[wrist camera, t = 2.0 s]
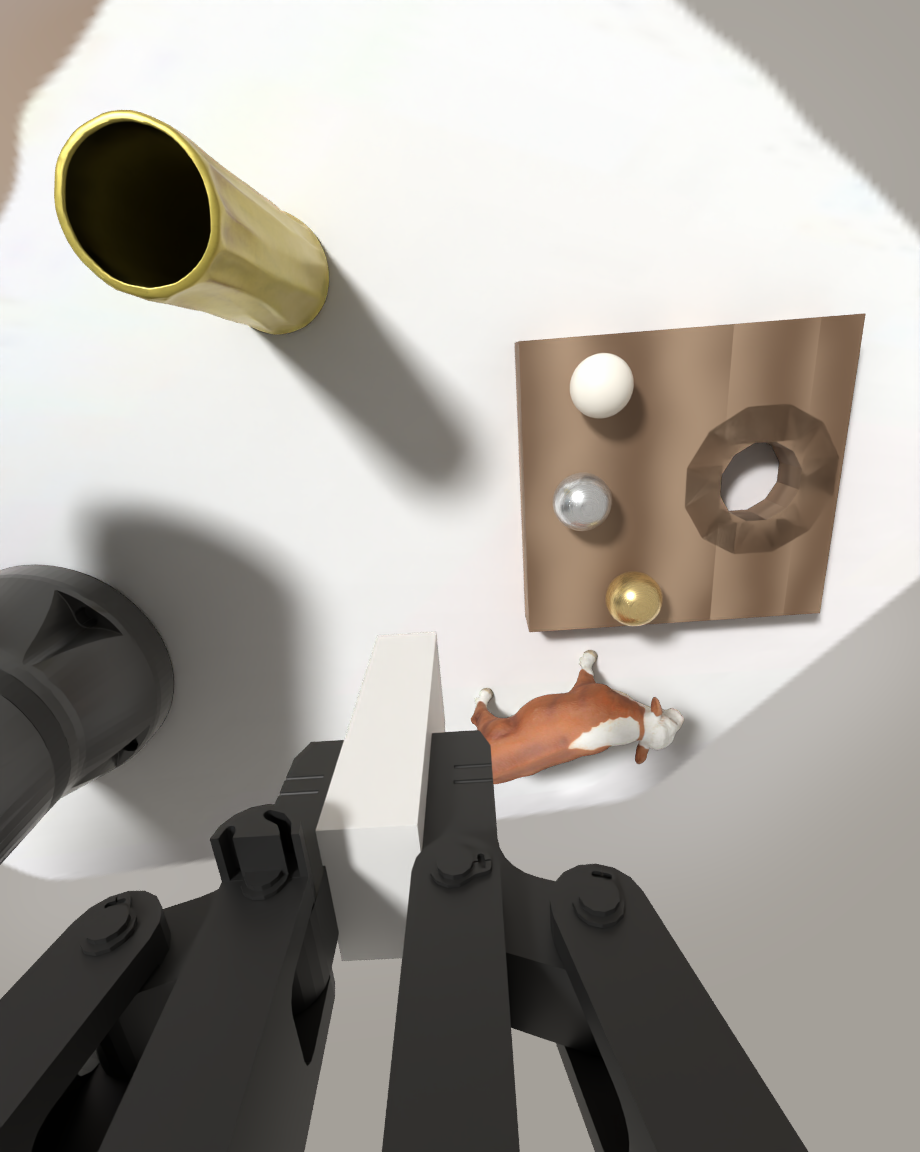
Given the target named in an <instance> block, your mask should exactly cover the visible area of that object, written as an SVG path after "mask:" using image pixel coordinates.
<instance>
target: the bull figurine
mask: <svg viewBox="0 0 920 1152" xmlns="http://www.w3.org/2000/svg"><path fill="white" fill-rule="evenodd" d="M596 659H597V654H596V652H595V651H593V650H588V651H586V652H584V655H583V657H580V659H579V660H580V663H579V665H580V666H581V667H582V670H581V671H580V672H579V676H578V679H577V682H576V684H575V685H574V687H573V688H572V690H571V691H570V692H568V693H561V694H550V695H544V696H540V697H537V698H535V699H533V700H531V701H529V702H528V703H527V704H525V705H524V706H523V707H522V708H521V709H520V710H519V711H518V712H517V713H516V714H515V715H512V716H511V717H508V718H498V717H495V716H493V715H492V714H491V713H490V712H489V711H488V710H487V704H488V702H489V701H490V699H491V698H492V696H493V692H492V691H491V689H489V688H485V689H482V690H481V691H480V693H479V697H478V698H475V704H476V706H475V711H474V714H473V716H472V718H471V722H472V723H473V724H475V725H476V727H477V729H478V730H480V732H481V733H482V734H483V736H484V737H485V738H486V740H487V741H488V742H489V744H490V745H491V758H492V771H493V784H499V783H504V782H508V781H511V780H514V779H517V778H520V777H525V776H530V775H533V774H535V773H537V772H539V771H541V770H544V769H546V768H549V767H552V766H555V765H558V764H561V763H565V762H569V761H571V760H574V759H577V758H579V757H582V756H588V755H593V754H597V753H600V752H602V751H604V750H606V749H608V748H609V747H610V746H618V745H625V744H628V743H631V742H634V741H637V740H639V744H638V746H637V749H636V755H635V761H636V763H637V764H641V763H643V762H644V761H645V760H646V758H647V753H648V750H649V749H650V748H652V749H654V750H660V749H663V748H666V747H667V746H669V745H670V744H671V743H672V741H673V739H674V736H675V734H676V732H677V731H678V730H679V729H680V728H681V726H682V724H683V721H684V717H683V716H682V715H681V713H680V712H679V711H678V710H676V709H673V708H670V709H668V710H663V709H662V708H661V705H660V702H659V700H658V699H657V698H656V697H653V699H652V702H651V707H649V706H646V705H644V704H642V703H639V702H637V701H635V700H633V699H632V698H631V697H630V696H628V695H627V694H625V693H623V692H620V691H617V690H613V689H611V688H609V687H608V686H607V685H604V684H599V683H596V682H595V680H594V678H593V677H594V673H593V671H592V669H591V668H592V666H593V663H594V662H595V661H596Z"/></svg>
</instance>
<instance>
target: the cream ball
mask: <svg viewBox="0 0 920 1152" xmlns="http://www.w3.org/2000/svg"><path fill="white" fill-rule="evenodd" d="M633 387H634V379H633V375H632V371H631V369H630V367H629V366H628V364H627V363H626V362H625V361H624V360H623V359H621V358H620V357H618V356H616V355H613V354H609V353H599V354H595V355H592V356H590V357H588V358H586V359H585V360H583V361H582V362H581V363H580V364H579V365H578V366H577V368H576V369H575V371H574V373H573V375H572V377H571V381H570V395H571V399H572V401H573V403H574V405H575V406H576V408H577V409H578V410H579V411H580V412H582V413H583V414H584V415H586V416H589V417H592V418H607V417H610V416H613V415H615V414H616V413H618V412H619V411H621V410H622V409H623V408H624V407H625V406H626V405H627V403H628V402H629V400H630V398H631V395H632V393H633Z"/></svg>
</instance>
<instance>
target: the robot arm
mask: <svg viewBox="0 0 920 1152" xmlns="http://www.w3.org/2000/svg"><path fill="white" fill-rule="evenodd" d="M173 690H174V679H173V670H172V665H171V661H170V658H169V655H168V652H167V650H166V647H165V645H164V643H163V641H162V639H161V637H160V636H159V634H158V632H157V631H156V629H155V628H154V626H153V625H152V624H151V622H150V621H149V620H148V618H147V617H146V616H145V615H144V614H143V613H142V612H141V611H140V610H139V609H138V608H137V607H136V606H135V605H134V604H133V603H132V602H131V601H130V600H128V599H127V598H126V597H125V596H123V595H122V594H121V593H119V592H118V591H116V590H115V589H113V588H112V587H110V586H108V585H107V584H105V583H103V582H101V581H99V580H97V579H95V578H93V577H90V576H88V575H85V574H83V573H80V572H77V571H74V570H70V569H66V568H62V567H56V566H48V565H22V566H15V567H10V568H6V569H3V570H0V864H1V863H2V862H3V861H4V860H5V859H6V858H7V857H8V856H9V854H10V853H11V852H12V851H13V850H14V849H15V848H16V847H17V846H18V844H19V843H20V842H21V841H22V840H23V839H24V838H25V837H26V835H27V834H28V833H29V832H30V831H31V830H32V829H33V828H34V827H35V825H36V824H37V823H38V822H39V821H40V820H41V818H42V817H43V816H44V815H45V814H46V813H47V812H48V811H49V810H50V809H51V808H52V807H53V805H54V804H55V803H56V802H57V801H58V800H59V799H60V798H62V797H64V796H66V795H68V794H69V793H71V792H73V791H75V790H77V789H78V788H80V787H82V786H84V785H86V784H88V783H89V782H91V781H93V780H95V779H97V778H98V777H100V776H102V775H104V774H106V773H107V772H109V771H111V770H113V769H115V768H116V767H118V766H120V765H122V764H123V763H125V762H126V761H128V760H129V759H130V758H132V757H133V756H134V755H135V754H136V753H138V752H139V751H140V750H141V749H142V748H143V747H144V745H145V744H146V743H147V742H148V741H149V739H150V738H151V737H152V736H153V735H154V733H155V732H156V731H157V730H158V729H159V727H160V726H161V725H162V723H163V722H164V720H165V718H166V716H167V714H168V712H169V709H170V706H171V703H172V698H173ZM210 841H211V845H212V848H213V852H214V855H215V859H216V862H217V866H218V869H219V873H220V876H221V880H222V883H221V885H220V887H219V889H218V890H216V891H214V892H212V893H210V894H207V895H204V896H202V897H199V898H196V899H193V900H190V901H187V902H184V903H181V904H178V905H174V906H171V907H168V908H165V909H162V906H161V904H160V902H159V900H158V898H157V896H155V895H153V894H151V893H149V892H146V891H127V892H124V893H121V894H118V895H115V896H111V897H109V898H107V899H105V900H103V901H102V902H100V903H98V904H96V905H94V906H93V907H91V908H89V909H88V910H87V911H86V912H85V913H84V914H82V915H81V916H80V917H79V918H78V919H77V920H75V921H74V922H73V923H72V924H71V925H70V926H69V927H68V928H67V929H66V931H65V932H64V933H63V934H62V935H61V936H60V937H59V938H58V939H57V940H56V941H55V942H54V943H53V944H52V945H51V946H50V948H48V950H47V951H46V952H45V953H44V954H43V955H42V956H41V957H40V958H39V959H38V960H37V961H36V962H35V963H34V964H33V965H32V967H30V969H29V970H28V971H27V972H26V973H25V974H24V975H23V976H22V977H21V978H20V979H19V980H18V981H17V982H16V983H15V984H14V986H13V987H12V988H11V989H10V990H9V991H8V992H7V993H6V994H5V995H4V996H3V997H2V998H1V999H0V1152H304V1150H305V1145H306V1139H307V1135H308V1130H309V1125H310V1120H311V1115H312V1110H313V1105H314V1100H315V1094H316V1089H317V1084H318V1080H319V1074H320V1070H321V1065H322V1059H323V1054H324V1049H325V1044H326V1039H327V1034H328V1028H329V1024H330V1019H331V1014H332V1009H333V1004H334V999H335V981H334V976H333V971H332V963H333V958H334V954H335V949H336V944H337V940H338V944H339V948H340V953H341V958H342V961H352V960H374V959H394V958H402V966H401V975H400V986H399V995H398V1004H397V1014H396V1023H395V1032H394V1043H393V1051H392V1061H391V1072H390V1080H389V1090H388V1100H387V1109H386V1118H385V1128H384V1138H383V1147H382V1152H519V1151H520V1150H519V1137H518V1123H517V1108H516V1094H515V1080H514V1065H513V1050H512V1036H511V1028H514V1029H517V1030H520V1031H523V1032H525V1033H529V1034H532V1035H534V1036H537V1037H540V1038H543V1039H546V1040H549V1041H553V1042H555V1043H556V1044H557V1047H558V1050H559V1053H560V1055H561V1058H562V1061H563V1064H564V1067H565V1070H566V1072H567V1075H568V1078H569V1081H570V1083H571V1086H572V1089H573V1092H574V1095H575V1097H576V1100H577V1103H578V1106H579V1108H580V1111H581V1114H582V1117H583V1119H584V1122H585V1125H586V1128H587V1131H588V1134H589V1136H590V1139H591V1142H592V1145H593V1147H594V1150H595V1152H808V1151H807V1149H806V1147H805V1146H804V1144H803V1142H802V1141H801V1139H800V1138H799V1136H798V1135H797V1133H796V1131H795V1130H794V1128H793V1127H792V1125H791V1124H790V1122H789V1120H788V1119H787V1117H786V1116H785V1114H784V1113H783V1111H782V1109H781V1108H780V1106H779V1105H778V1103H777V1102H776V1100H775V1098H774V1097H773V1095H772V1094H771V1092H770V1091H769V1089H768V1087H767V1086H766V1084H765V1083H764V1081H763V1080H762V1078H761V1076H760V1075H759V1073H758V1072H757V1070H756V1069H755V1067H754V1065H753V1064H752V1062H751V1061H750V1059H749V1057H748V1056H747V1054H746V1053H745V1051H744V1050H743V1048H742V1046H741V1045H740V1043H739V1042H738V1040H737V1038H736V1037H735V1035H734V1034H733V1032H732V1031H731V1029H730V1027H729V1026H728V1024H727V1023H726V1021H725V1020H724V1018H723V1016H722V1015H721V1014H720V1012H719V1010H718V1009H717V1007H716V1005H715V1004H714V1002H713V1001H712V999H711V998H710V996H709V994H708V993H707V991H706V990H705V988H704V987H703V985H702V983H701V982H700V980H699V979H698V977H697V975H696V974H695V972H694V971H693V969H692V968H691V966H690V965H689V963H688V961H687V960H686V958H685V957H684V955H683V953H682V952H681V951H680V949H679V947H678V946H677V944H676V942H675V941H674V939H673V938H672V936H671V935H670V933H669V931H668V930H667V928H666V927H665V925H664V924H663V922H662V920H661V919H660V917H659V916H658V914H657V913H656V911H655V909H654V908H653V906H652V905H651V903H650V901H649V900H648V898H647V897H646V895H645V894H644V892H643V891H642V890H641V888H640V887H639V886H638V885H637V884H636V883H635V882H634V881H633V880H632V878H631V877H629V876H627V875H626V874H624V873H622V872H620V871H619V870H617V869H615V868H613V867H608V866H604V865H599V864H588V865H578V866H576V867H574V868H572V869H569V870H567V871H565V872H564V873H563V874H562V875H561V876H560V877H559V878H558V879H557V881H552V880H547V879H543V878H539V877H536V876H533V875H530V874H527V873H524V872H523V871H521V870H520V869H518V868H516V867H515V866H513V865H512V864H511V863H510V862H509V861H508V860H507V859H506V858H505V856H504V855H503V853H502V851H501V849H500V847H499V843H498V839H497V827H496V812H495V799H494V785H493V771H492V758H491V745H490V744H489V742H488V741H487V740H486V738H485V737H484V736H483V734H482V733H481V732H480V730H475V731H458V732H445V716H444V706H443V696H442V686H441V675H440V665H439V655H438V645H437V635H436V632H423V633H408V634H392V635H377V637H376V640H375V643H374V647H373V650H372V653H371V656H370V659H369V663H368V666H367V669H366V672H365V675H364V678H363V682H362V685H361V688H360V691H359V694H358V697H357V701H356V704H355V707H354V710H353V713H352V717H351V720H350V723H349V726H348V729H347V732H346V736H345V739H344V740H338V741H322V742H311V743H310V744H309V745H308V746H307V747H306V748H305V749H304V750H302V751H301V752H300V753H299V754H298V755H297V756H296V757H295V758H294V761H293V763H292V765H291V768H290V770H289V772H288V775H287V780H286V781H285V782H284V784H283V786H282V789H281V791H280V796H278V798H277V800H276V803H275V805H272V804H267V805H262V806H257V807H252V808H249V809H247V810H245V811H243V812H240V813H238V814H236V815H234V816H233V817H231V818H230V819H229V820H227V821H226V822H225V823H223V824H222V825H221V826H220V827H219V828H218V829H217V831H216V832H215V833H214V835H213V836H212V837H211V838H210Z"/></svg>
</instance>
